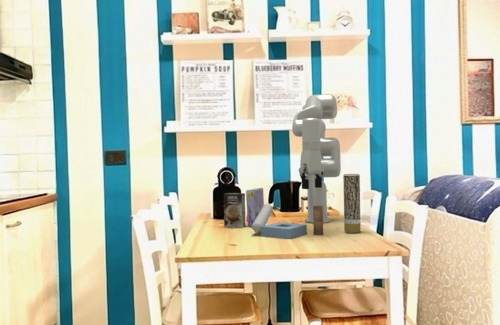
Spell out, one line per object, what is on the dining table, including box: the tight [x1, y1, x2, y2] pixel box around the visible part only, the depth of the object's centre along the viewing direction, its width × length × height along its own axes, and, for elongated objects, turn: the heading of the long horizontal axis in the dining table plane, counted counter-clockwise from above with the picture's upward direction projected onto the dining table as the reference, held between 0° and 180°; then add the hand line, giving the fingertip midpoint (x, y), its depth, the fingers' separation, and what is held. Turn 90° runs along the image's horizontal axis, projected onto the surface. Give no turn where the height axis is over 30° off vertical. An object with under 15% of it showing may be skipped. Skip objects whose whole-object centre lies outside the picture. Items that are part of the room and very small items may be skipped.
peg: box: [312, 206, 324, 236], centre depth 194 cm, size 4×4×12 cm
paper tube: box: [342, 173, 362, 234], centre depth 198 cm, size 7×7×25 cm
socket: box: [260, 221, 308, 240], centre depth 195 cm, size 14×14×4 cm
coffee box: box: [223, 192, 246, 229], centre depth 219 cm, size 9×6×16 cm
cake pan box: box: [245, 187, 265, 228], centre depth 226 cm, size 19×5×18 cm, turn 165°
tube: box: [251, 203, 274, 234], centre depth 205 cm, size 5×5×25 cm
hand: (312, 188), depth 194 cm, fingers open, 9 cm apart
